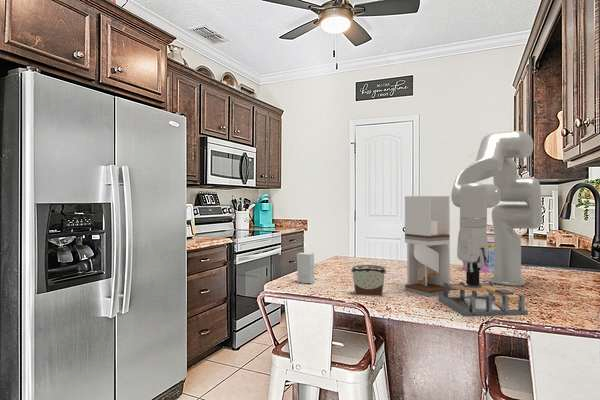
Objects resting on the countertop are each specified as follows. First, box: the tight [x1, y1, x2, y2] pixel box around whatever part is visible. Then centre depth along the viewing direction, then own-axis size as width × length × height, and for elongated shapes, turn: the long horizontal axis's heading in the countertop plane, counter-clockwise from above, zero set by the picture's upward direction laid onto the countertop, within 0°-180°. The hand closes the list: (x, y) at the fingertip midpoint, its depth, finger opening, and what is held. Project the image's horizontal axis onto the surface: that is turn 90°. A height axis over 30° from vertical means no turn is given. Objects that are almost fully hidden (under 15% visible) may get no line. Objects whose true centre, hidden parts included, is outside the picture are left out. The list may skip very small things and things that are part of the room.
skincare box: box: [296, 252, 316, 285], centre depth 158 cm, size 6×4×12 cm
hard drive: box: [463, 298, 501, 311], centre depth 122 cm, size 2×8×12 cm
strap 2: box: [479, 282, 520, 301], centre depth 123 cm, size 18×4×2 cm, turn 5°
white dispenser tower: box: [404, 195, 451, 298], centre depth 142 cm, size 11×11×35 cm
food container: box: [350, 264, 387, 297], centre depth 140 cm, size 12×6×10 cm, turn 78°
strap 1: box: [448, 282, 488, 292], centre depth 122 cm, size 18×4×2 cm, turn 4°
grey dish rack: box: [437, 281, 529, 317], centre depth 122 cm, size 18×19×6 cm
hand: (472, 284), depth 117 cm, fingers closed
